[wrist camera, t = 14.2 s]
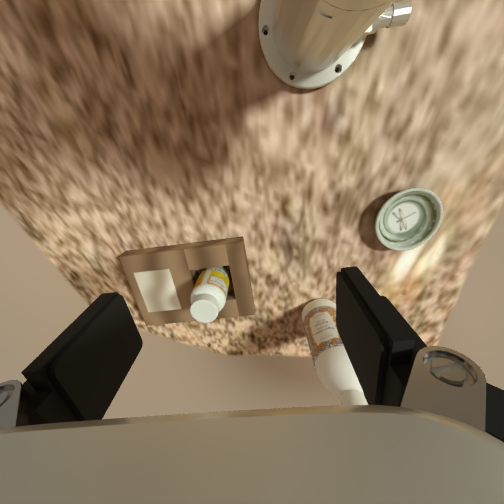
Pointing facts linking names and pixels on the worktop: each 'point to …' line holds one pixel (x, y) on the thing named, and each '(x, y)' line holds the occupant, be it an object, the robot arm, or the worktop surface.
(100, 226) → the worktop surface
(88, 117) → the worktop surface
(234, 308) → the rack board
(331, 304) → the bath foam
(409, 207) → the saucer
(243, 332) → the worktop surface
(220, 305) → the supplement bottle
